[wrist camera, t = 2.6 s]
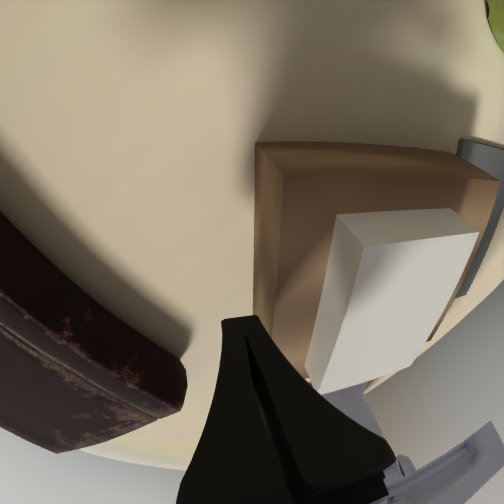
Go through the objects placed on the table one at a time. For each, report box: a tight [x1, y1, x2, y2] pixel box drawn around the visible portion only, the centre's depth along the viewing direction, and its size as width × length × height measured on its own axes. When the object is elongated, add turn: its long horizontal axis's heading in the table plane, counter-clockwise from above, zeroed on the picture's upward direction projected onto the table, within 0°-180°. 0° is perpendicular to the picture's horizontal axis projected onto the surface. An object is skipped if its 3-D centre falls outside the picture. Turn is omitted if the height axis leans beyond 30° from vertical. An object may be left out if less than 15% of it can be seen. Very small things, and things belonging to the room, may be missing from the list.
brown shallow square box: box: [253, 142, 501, 379], centre depth 15 cm, size 12×12×4 cm
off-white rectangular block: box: [305, 208, 479, 395], centre depth 12 cm, size 9×6×2 cm, turn 179°
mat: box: [454, 139, 504, 299], centre depth 18 cm, size 14×8×1 cm, turn 179°
